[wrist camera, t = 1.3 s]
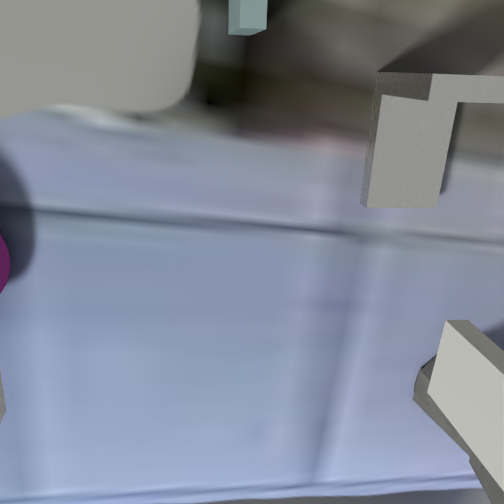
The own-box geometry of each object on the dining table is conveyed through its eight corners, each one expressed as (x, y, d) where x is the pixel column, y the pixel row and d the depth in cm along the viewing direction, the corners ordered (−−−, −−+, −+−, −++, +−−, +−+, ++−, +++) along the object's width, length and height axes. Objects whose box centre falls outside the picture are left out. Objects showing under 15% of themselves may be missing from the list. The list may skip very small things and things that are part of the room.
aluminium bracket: (376, 71, 33) (433, 73, 26) (451, 74, 34) (526, 77, 27) (359, 202, 37) (404, 236, 30) (427, 202, 38) (487, 235, 31)
